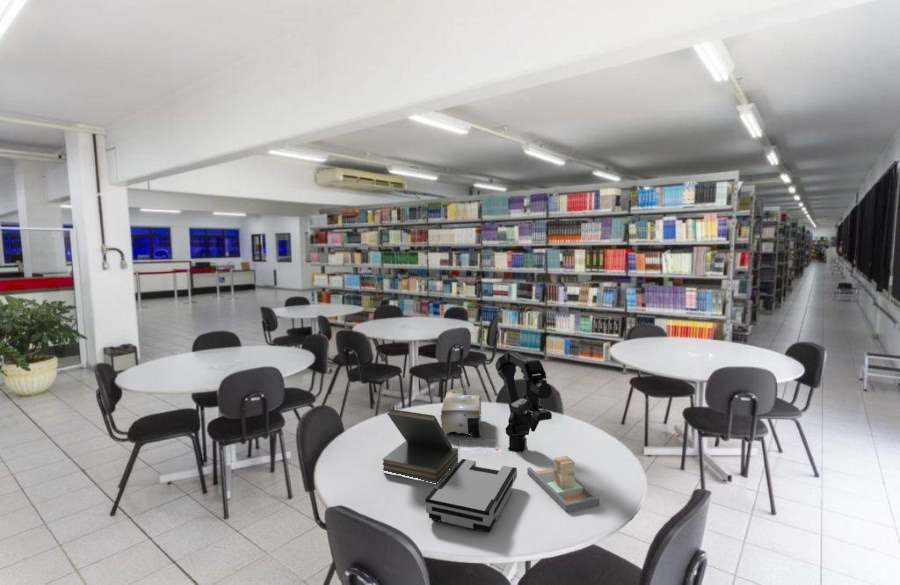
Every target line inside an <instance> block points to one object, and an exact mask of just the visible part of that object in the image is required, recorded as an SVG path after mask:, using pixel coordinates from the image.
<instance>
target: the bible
mask: <svg viewBox="0 0 900 585" xmlns="http://www.w3.org/2000/svg"><path fill="white" fill-rule="evenodd" d="M386 414H387V416H388V417H389V419H390V420H391V422H393V424H394V426H395V427H396V428H397V430H398V432H399V434H400V435H401V436H402V438H404V440H405V441H403V442H402V443H401V444H400V445H399V446H397V447H396V448H395V449H393V450H391V451H390V452H389V453H388V454H387V455H385V456H384V457H383V458H382V460H383V461H382V465H383V468H382V470H383V472H384V471H388V472H392V473H396V474H401V475H405V476H409V477H413V478H418V479H421V480H424V481H428V482H432V483H437V482H438V481H439V480H440V479H441V478H442V477H443V476H444V475H445V474H446V473H447V472H448V471H449V469H451V468H452V467H453V466H454V467H455V466H456V465H457V464H458V463H459V448H457V447H453V445H452V444H451V442H450V440H449V437H447V434H446V433H444V431H443V429H442V425H441V424H440V423H439V421H438V419H437V418H436V416H435V415H434V414H433V415H432V414H427V413H420V412H414V411H413V412H412V411H406V410H399V409H392V408H389V409H388V412H387V413H386ZM457 462H458V463H457ZM454 467H453V468H454ZM453 468H452V469H453ZM452 469H451V470H452ZM449 472H450V471H449ZM449 472H448V473H449ZM448 473H447V474H448ZM447 474H446V475H447ZM446 475H445V476H446ZM445 476H444V477H445ZM444 477H443V478H444ZM443 478H442V479H443ZM442 479H441V480H442ZM441 480H440V481H441ZM440 481H439V482H440Z"/></svg>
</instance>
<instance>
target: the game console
mask: <svg viewBox="0 0 900 585" xmlns="http://www.w3.org/2000/svg"><path fill="white" fill-rule="evenodd" d="M476 463H477V462H476V460H473V459H472V460H471V459H466V458H462V459H461V460H460V461H458V463H457V464H456V465H455V466H454V467H453V468H452V470H451V472H449V474H448V475H447V476H446V477H445V479H444V480H443V481H442V482H441V483H440V484H439V486H438V487H434V488H433V489H432V490H431V492H430V493H429V494H428V495H427V496H426V497H425V513H428V519H431V520H433V519H436V520H435V521H437V520H440V521H439V522H441V521H442V523H446V522H447V523H446V524H451V525H456V526H460V527H463V528H469V529H472V528H473V530H476V529H477V531H482V532H485V533H491V530H492V528H493V526H494V525H495V523H496V521H497V519H498V518H499V516H500V514H501V512H502V510H503V508H504V506H505V504H506V502H507V500H508V499H509V497H510V496H511V493H512V491H513V490H512V487H513V484H514V483H515V482H516V479H517V477H518V469H517V467H513V466H507V465H502V466H501V467H500V469H499V470H498V469H491V468H485V467H481V466H477V465H476Z"/></svg>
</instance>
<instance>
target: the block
mask: <svg viewBox="0 0 900 585" xmlns="http://www.w3.org/2000/svg"><path fill="white" fill-rule="evenodd" d="M553 458H554V459H553V460H554V461H553V462H554V463H553V468H554V483H555V484H556V485H557V486H558V487H559V488H560V489H561V490H562V489H567V488H573V487H574V478H576V477H575V475H576V472H575V468H576V467H575V464H576V462H575V461H574V460H572V458H570V457H569V456H567V455H564V456H559V457H553Z"/></svg>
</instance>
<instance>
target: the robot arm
mask: <svg viewBox="0 0 900 585" xmlns="http://www.w3.org/2000/svg"><path fill="white" fill-rule="evenodd" d="M517 367H518V368H519V369H520V372H521V374H522V375H523V376H522V379H524V393H523V394H522V395H521V397H522V398H520V397H519V394H518V389H517V384H516V379H515V375H516V373H517ZM495 370H496V371H497V375H498V377H500V378H501V380H502V381H503V385H504V390H505V393H506V399H507V403H508V408H509V412H510V414H509V417H508V424H507V426H506V427H505V434H506V435H507V436H508V439H509V440H508V444H509V445H508V447H507V450H508V451H512V452H517V453H523V452H525V450H526V449H527V447H528V445H527V443H528V440H527V438H526V436H530V431H531V432H535V431H536V430H537V427H538V425H539V423H540V422H541V421H547V420H552V419H553V413H552V412H550V410H548V409H546V408H544V409H543V405H542V404H541V399H544V400H546V399H548V398H549V397H550V396H551V395H552V392H553V391H552V390H553V389H552V387H551V385H550V384H549V383H548V380H546V379H547V373H546V370H545V369H544V367H543V364H542V362H541V361H540V360H539V359H536V358H528V357H526V356H525V355H523V354H521V353H519V352H518V351H517V350H508V351H505V352H504V354H502V355H501V356H500V357H498V358H497V360H496V362H495Z"/></svg>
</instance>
